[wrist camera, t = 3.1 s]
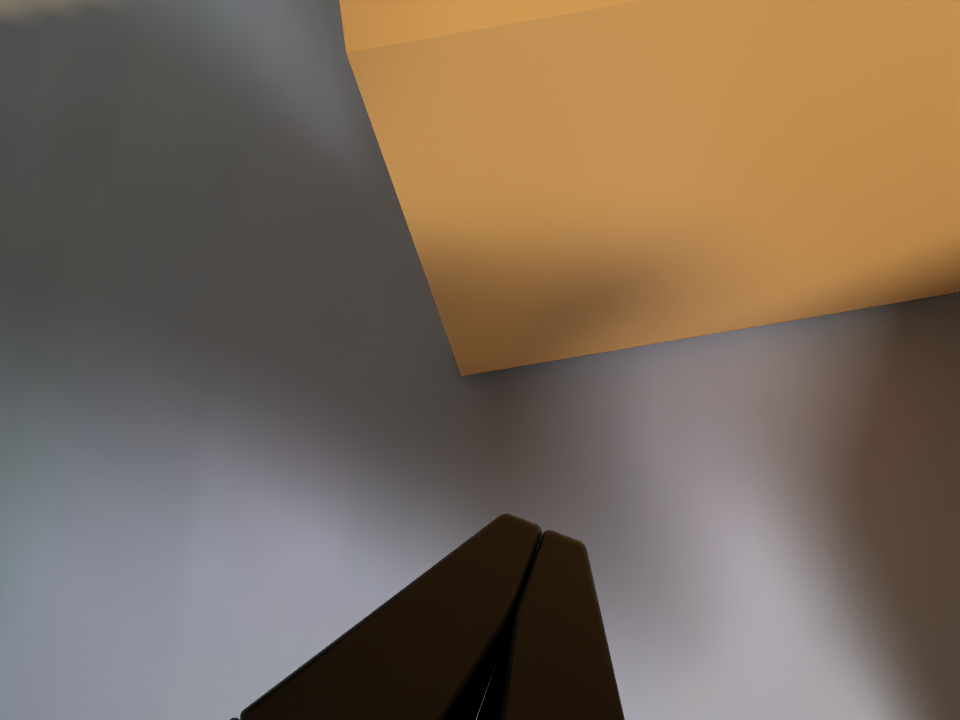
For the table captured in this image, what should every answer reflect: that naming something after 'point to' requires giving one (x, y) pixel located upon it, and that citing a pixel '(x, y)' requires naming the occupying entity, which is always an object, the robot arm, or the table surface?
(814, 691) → the table surface
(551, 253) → the side door
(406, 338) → the table surface
